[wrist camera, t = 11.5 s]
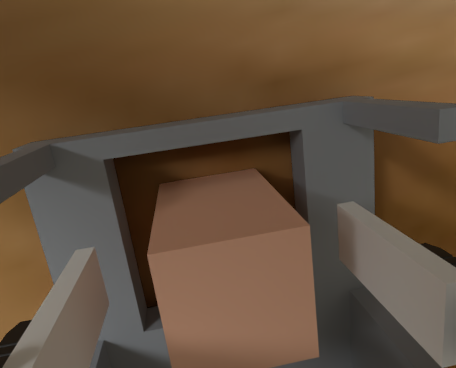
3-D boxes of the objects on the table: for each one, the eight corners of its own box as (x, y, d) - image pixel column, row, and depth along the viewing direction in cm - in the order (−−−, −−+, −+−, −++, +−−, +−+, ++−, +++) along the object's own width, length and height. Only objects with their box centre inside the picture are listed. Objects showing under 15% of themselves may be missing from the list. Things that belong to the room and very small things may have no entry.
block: (159, 183, 18) (146, 255, 10) (254, 168, 18) (310, 225, 11) (176, 269, 19) (176, 388, 12) (264, 253, 20) (319, 357, 12)
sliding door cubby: (31, 142, 16) (-101, 192, 9) (352, 95, 18) (487, 102, 10) (125, 464, 22) (97, 667, 15) (361, 408, 24) (450, 564, 16)
